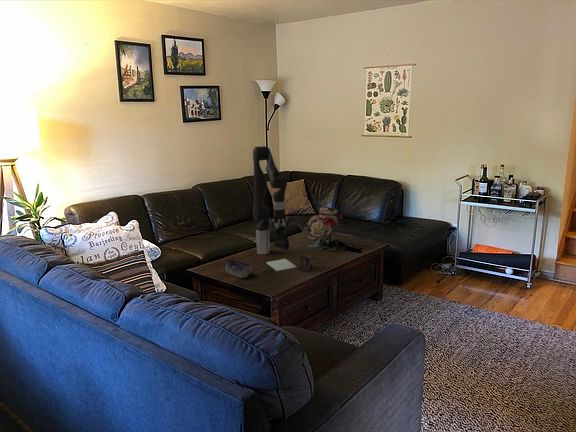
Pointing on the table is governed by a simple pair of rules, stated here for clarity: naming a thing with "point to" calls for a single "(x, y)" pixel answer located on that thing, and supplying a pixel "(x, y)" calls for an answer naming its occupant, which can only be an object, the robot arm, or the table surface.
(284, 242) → the black red yellow block
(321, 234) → the rose bouquet
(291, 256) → the table surface
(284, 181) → the robot arm
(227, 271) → the geode
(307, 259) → the portable electronic device stand
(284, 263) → the sage mat
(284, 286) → the table surface
